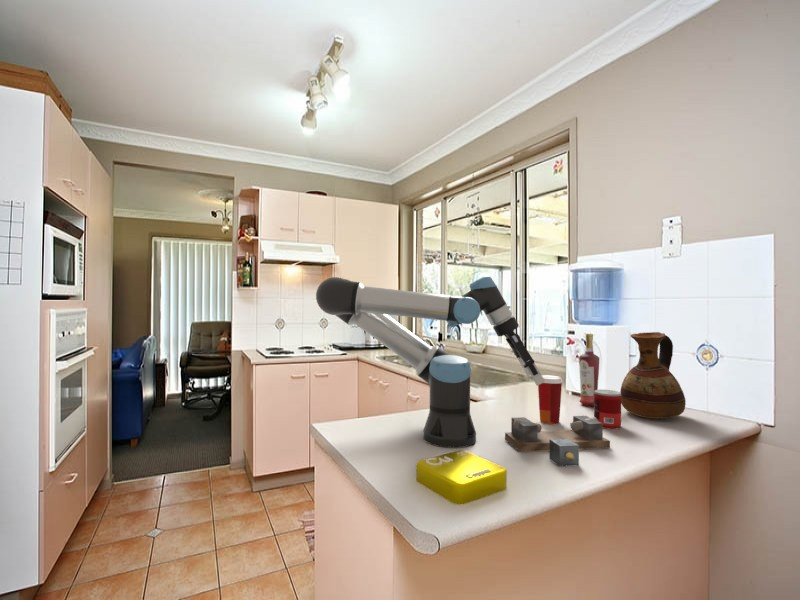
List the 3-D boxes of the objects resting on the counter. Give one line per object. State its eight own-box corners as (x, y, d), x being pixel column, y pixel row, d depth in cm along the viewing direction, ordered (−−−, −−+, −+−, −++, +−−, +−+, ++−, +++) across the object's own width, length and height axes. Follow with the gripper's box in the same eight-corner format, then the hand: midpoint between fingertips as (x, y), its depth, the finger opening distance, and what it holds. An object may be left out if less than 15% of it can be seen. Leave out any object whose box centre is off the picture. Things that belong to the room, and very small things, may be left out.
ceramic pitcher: (608, 412, 152) (608, 330, 152) (641, 406, 161) (641, 329, 162) (663, 426, 134) (663, 334, 135) (697, 418, 144) (697, 332, 144)
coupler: (580, 467, 100) (580, 446, 100) (561, 468, 99) (561, 447, 99) (566, 457, 106) (566, 437, 106) (547, 457, 106) (547, 438, 106)
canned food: (626, 427, 133) (626, 393, 133) (608, 430, 130) (608, 395, 130) (606, 421, 140) (606, 388, 140) (588, 423, 137) (588, 390, 137)
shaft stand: (519, 451, 110) (519, 424, 110) (505, 439, 119) (505, 414, 120) (609, 448, 113) (610, 421, 113) (588, 436, 123) (588, 412, 123)
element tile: (457, 508, 79) (458, 483, 79) (412, 480, 92) (412, 459, 92) (510, 489, 88) (510, 467, 88) (462, 466, 100) (462, 446, 100)
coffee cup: (561, 419, 141) (561, 375, 141) (564, 426, 133) (564, 379, 133) (535, 417, 143) (535, 374, 144) (536, 424, 135) (537, 378, 136)
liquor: (603, 406, 160) (603, 334, 161) (591, 408, 157) (591, 334, 157) (586, 402, 167) (587, 333, 167) (574, 404, 163) (575, 333, 163)
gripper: (520, 317, 120) (557, 381, 119) (506, 312, 144) (537, 365, 144) (497, 330, 120) (533, 394, 120) (487, 323, 145) (518, 375, 145)
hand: (535, 378), depth 132 cm, fingers open, 13 cm apart
